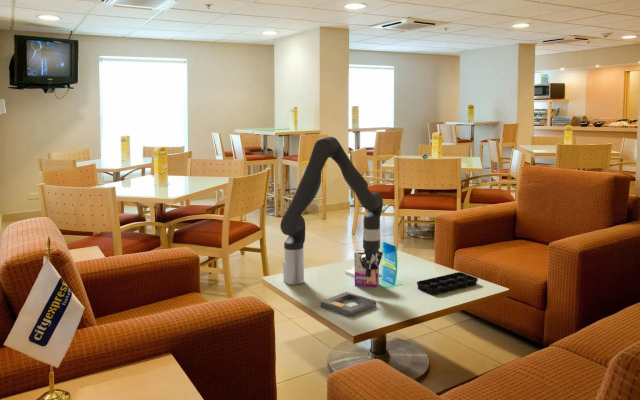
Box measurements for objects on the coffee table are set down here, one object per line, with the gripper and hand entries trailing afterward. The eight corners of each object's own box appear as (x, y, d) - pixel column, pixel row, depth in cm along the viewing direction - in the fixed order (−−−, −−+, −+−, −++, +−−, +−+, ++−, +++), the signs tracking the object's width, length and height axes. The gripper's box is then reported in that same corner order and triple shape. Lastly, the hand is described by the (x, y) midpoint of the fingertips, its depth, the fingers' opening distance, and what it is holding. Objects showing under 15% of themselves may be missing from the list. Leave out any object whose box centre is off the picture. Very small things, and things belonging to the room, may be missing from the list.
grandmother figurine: (379, 282, 243) (381, 254, 241) (378, 284, 239) (379, 256, 238) (362, 280, 245) (364, 253, 243) (361, 282, 242) (362, 254, 240)
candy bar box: (379, 284, 260) (379, 250, 258) (377, 287, 256) (378, 253, 253) (356, 282, 263) (356, 249, 260) (354, 285, 258) (354, 252, 256)
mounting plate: (342, 273, 280) (342, 269, 279) (362, 268, 286) (362, 265, 286) (363, 282, 265) (363, 278, 264) (384, 277, 271) (384, 273, 271)
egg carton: (481, 284, 259) (481, 277, 259) (444, 300, 239) (444, 291, 239) (449, 276, 272) (450, 269, 271) (412, 290, 252) (412, 282, 251)
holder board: (320, 306, 232) (320, 300, 231) (346, 297, 243) (346, 291, 243) (350, 317, 220) (350, 310, 219) (376, 306, 231) (376, 300, 231)
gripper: (375, 233, 246) (374, 270, 249) (354, 239, 237) (353, 277, 240) (388, 236, 241) (387, 274, 244) (367, 242, 231) (366, 281, 234)
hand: (370, 275), depth 242 cm, fingers closed on grandmother figurine, 3 cm apart
